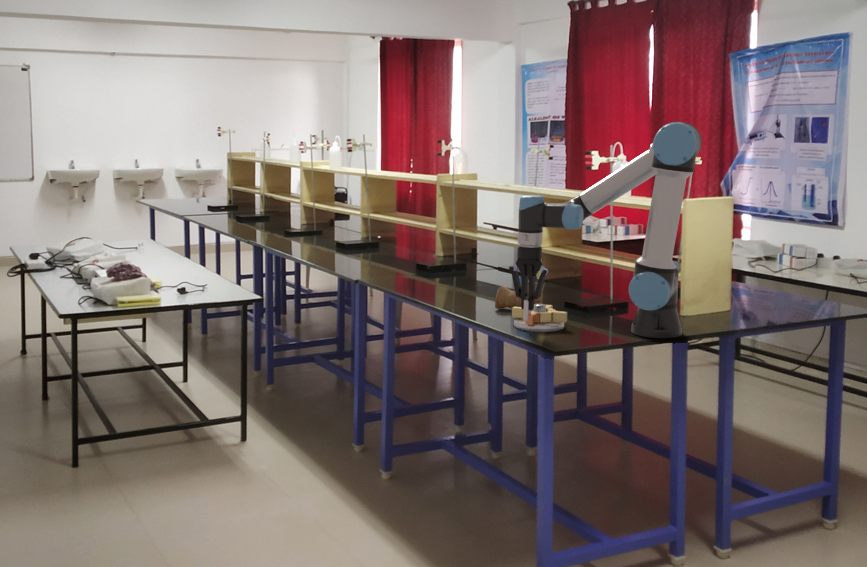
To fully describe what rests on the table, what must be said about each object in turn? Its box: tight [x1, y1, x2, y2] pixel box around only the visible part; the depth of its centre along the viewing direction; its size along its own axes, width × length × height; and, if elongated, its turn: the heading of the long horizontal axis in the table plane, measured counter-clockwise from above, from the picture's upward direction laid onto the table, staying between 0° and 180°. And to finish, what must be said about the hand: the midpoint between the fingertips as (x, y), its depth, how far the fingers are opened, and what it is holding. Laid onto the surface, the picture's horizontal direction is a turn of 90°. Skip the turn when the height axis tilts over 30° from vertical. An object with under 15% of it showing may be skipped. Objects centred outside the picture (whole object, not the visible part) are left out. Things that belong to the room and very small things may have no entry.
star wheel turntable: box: [513, 303, 565, 333], centre depth 273 cm, size 16×16×7 cm
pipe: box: [494, 282, 544, 310], centre depth 296 cm, size 9×16×10 cm, turn 68°
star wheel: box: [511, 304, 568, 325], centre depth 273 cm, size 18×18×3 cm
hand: (527, 319), depth 267 cm, fingers closed
